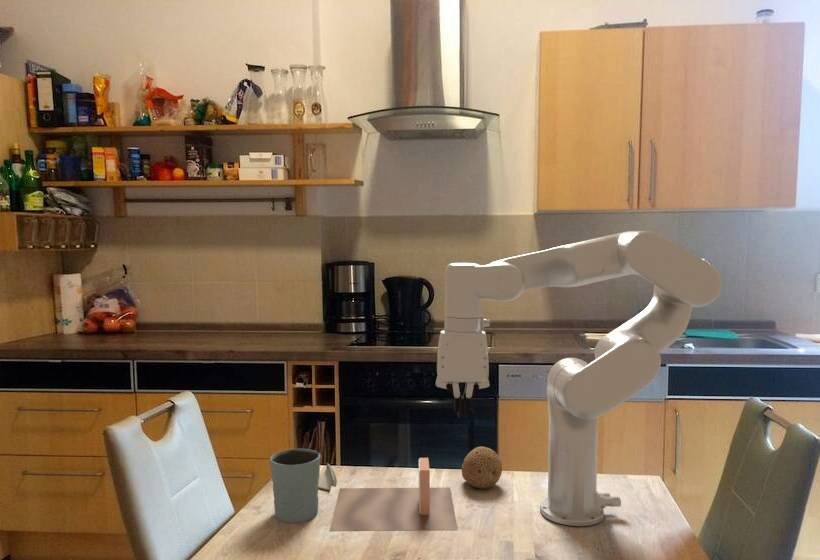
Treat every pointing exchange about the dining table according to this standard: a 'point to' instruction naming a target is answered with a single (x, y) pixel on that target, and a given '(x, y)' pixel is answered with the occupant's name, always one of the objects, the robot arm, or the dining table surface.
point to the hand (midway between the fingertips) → (462, 415)
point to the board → (392, 510)
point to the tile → (424, 486)
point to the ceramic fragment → (327, 479)
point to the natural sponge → (482, 468)
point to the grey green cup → (295, 484)
